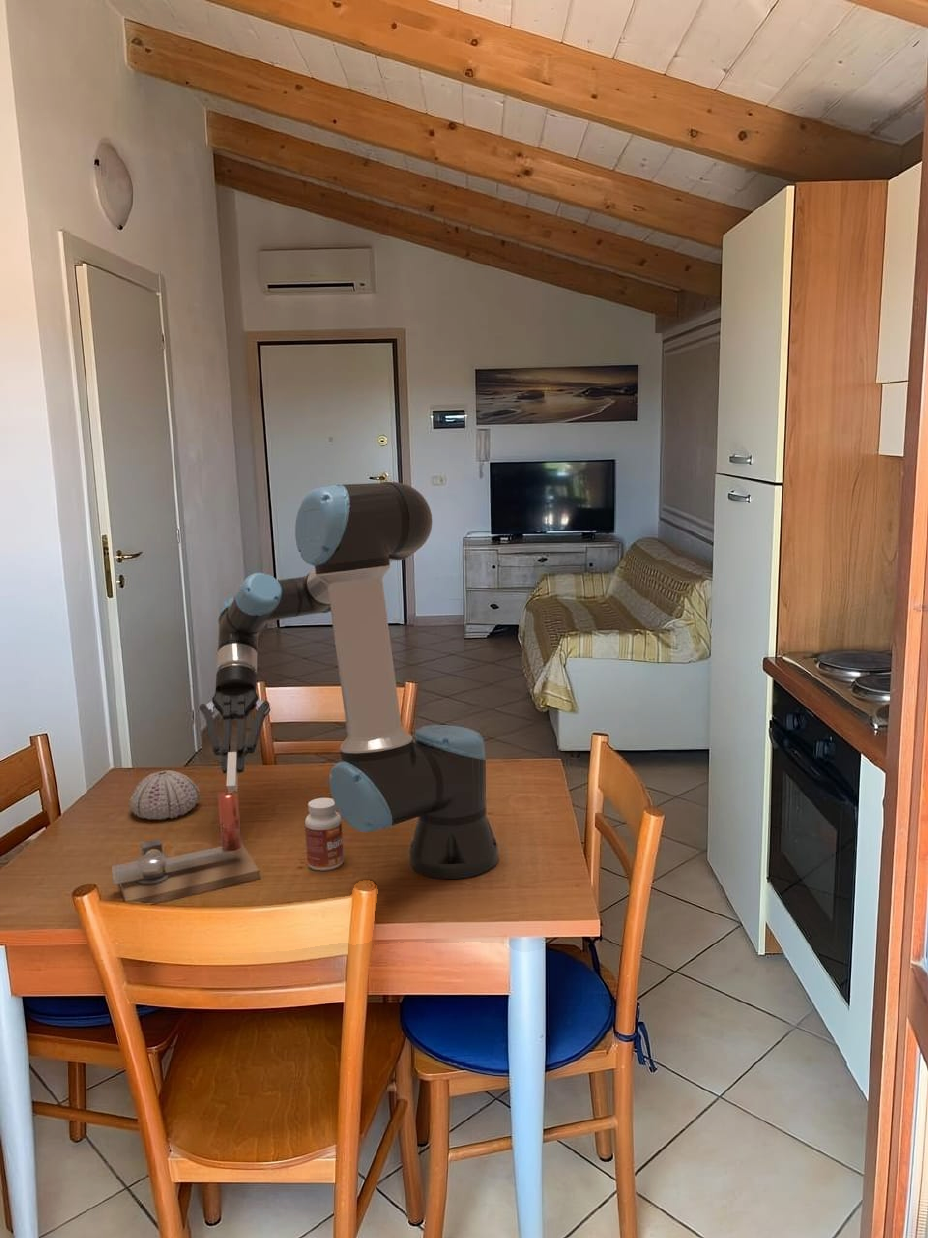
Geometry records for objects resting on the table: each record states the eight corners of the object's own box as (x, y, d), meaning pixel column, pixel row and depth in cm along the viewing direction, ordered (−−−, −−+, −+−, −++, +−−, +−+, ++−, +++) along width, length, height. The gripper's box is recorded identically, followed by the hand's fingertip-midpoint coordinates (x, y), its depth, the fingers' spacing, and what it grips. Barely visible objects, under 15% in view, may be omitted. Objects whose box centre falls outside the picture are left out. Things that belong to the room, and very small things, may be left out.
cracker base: (127, 910, 146) (124, 883, 146) (116, 873, 159) (113, 848, 158) (260, 878, 156) (258, 853, 155) (239, 846, 168) (237, 822, 167)
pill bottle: (332, 874, 157) (329, 811, 154) (300, 869, 159) (296, 807, 157) (350, 858, 162) (347, 798, 160) (319, 853, 164) (315, 793, 162)
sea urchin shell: (170, 829, 177) (166, 788, 176) (114, 819, 182) (110, 780, 181) (214, 803, 189) (211, 765, 188) (161, 794, 194) (158, 758, 193)
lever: (116, 886, 149) (109, 822, 147) (112, 875, 153) (105, 812, 151) (245, 857, 158) (240, 796, 156) (238, 848, 162) (234, 788, 160)
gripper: (273, 681, 182) (271, 795, 169) (204, 684, 181) (197, 799, 168) (269, 661, 176) (267, 778, 163) (198, 664, 175) (190, 782, 162)
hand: (231, 788), depth 166 cm, fingers closed
